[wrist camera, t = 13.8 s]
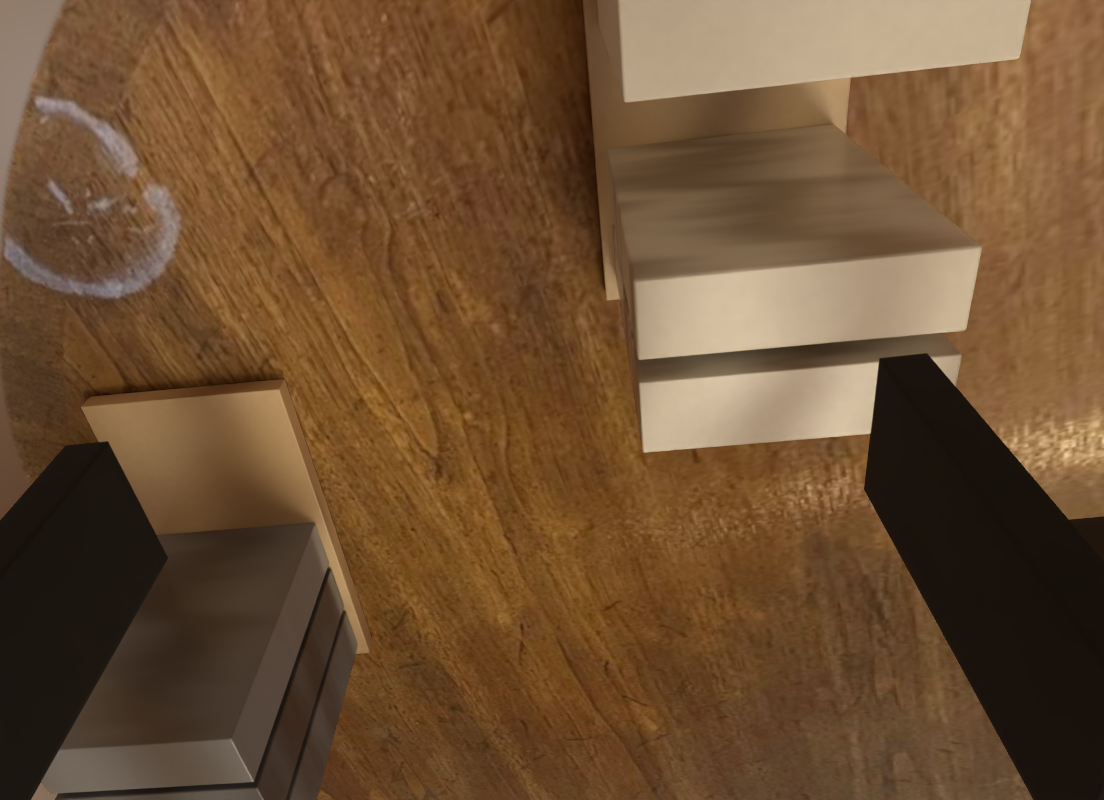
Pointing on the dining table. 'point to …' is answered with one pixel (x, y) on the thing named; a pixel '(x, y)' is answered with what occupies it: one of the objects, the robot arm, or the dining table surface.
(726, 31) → the white book
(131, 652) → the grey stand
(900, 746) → the dining table surface
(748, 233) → the beige stand
